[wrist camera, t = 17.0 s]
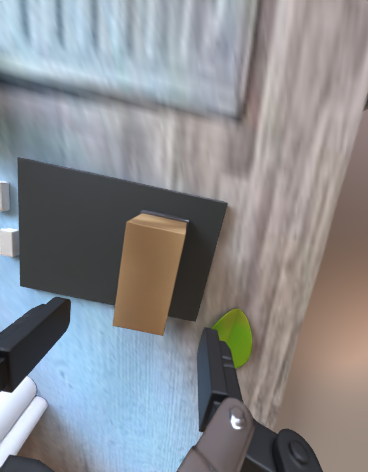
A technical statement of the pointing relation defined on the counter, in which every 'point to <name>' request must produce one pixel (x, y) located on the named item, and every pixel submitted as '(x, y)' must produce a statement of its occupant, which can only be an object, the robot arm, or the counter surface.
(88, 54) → the counter surface
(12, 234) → the small white block
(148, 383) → the counter surface
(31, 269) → the memo board
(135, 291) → the eraser
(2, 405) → the vase
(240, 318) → the decorative leaf
